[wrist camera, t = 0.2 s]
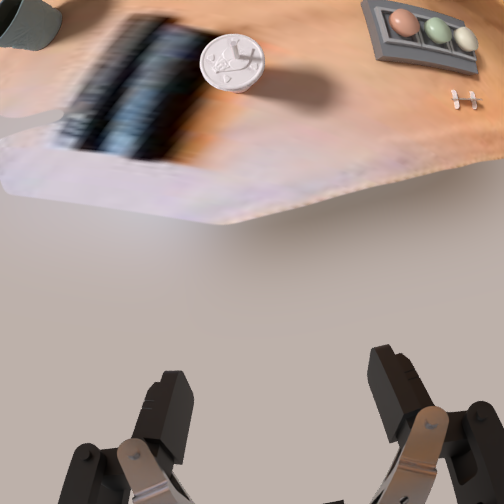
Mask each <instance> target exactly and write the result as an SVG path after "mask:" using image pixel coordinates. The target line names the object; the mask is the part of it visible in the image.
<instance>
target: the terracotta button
mask: <svg viewBox="0 0 504 504" xmlns="http://www.w3.org/2000/svg"><path fill="white" fill-rule="evenodd" d="M388 20H389V24H390V26H391V28H392V29H393V30H394V31H395V32H396V33H397V34H399V35H401V36H403V37H410V36H412V35H414V34H416V33H417V32H419V30H420V24H419V21H418V20H417V18H416V17H415V16H414V15H413V14H412V13H411V12H409V11H408V10H405V9H397V10H396V11H394V12H393V13H392V14H391V15H390V16H389V19H388Z"/></svg>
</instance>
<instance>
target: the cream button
mask: <svg viewBox="0 0 504 504" xmlns="http://www.w3.org/2000/svg"><path fill="white" fill-rule="evenodd" d="M453 34H454V39H455V41H456V43H457V44H458V46H459V47H460V48H461V49H462V50H464V51H466V52H470V51H474V50H477V49H478V41H477V38H476V36H475V35H474V33H473V32H472V31H471V30H470V29H469V28H467V27H461V28H458V29H456V30H454V33H453Z"/></svg>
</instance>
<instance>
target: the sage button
mask: <svg viewBox="0 0 504 504" xmlns="http://www.w3.org/2000/svg"><path fill="white" fill-rule="evenodd" d="M424 30H425V32H426V34H427V36H428V37H429V38H430V39H431V40H432V41H433V42H435V43H437V44H443V43H445V42H448V41H450V40H451V39H452V33H451V30H450V28H449V26H448V25H447V24H446V23H445V22H444V21H443V20H442V19H440V18H437V17H433V18H431V19H429V20H427V21H426V22H425V23H424Z"/></svg>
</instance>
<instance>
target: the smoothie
mask: <svg viewBox="0 0 504 504" xmlns="http://www.w3.org/2000/svg"><path fill="white" fill-rule="evenodd" d="M200 68H201V71H202V74H203V76H204V78H205V79H206V80H207V82H208V83H209V84H210V85H212V86H214V87H215V88H217V89H220V90H224V91H231V92H234V93H242V92H245V91H246V90H248V89H249V88H250V86H251V85H253V84H254V83H255V82H257V80H258V79H259V78H260V77H261V75H262V73H263V71H264V68H265V57H264V53H263V50H262V48H261V47H260V45H259V44H258V43H257V42H256V41H254V40H253V39H251V38H250V37H247V36H244V35H240V34H227V35H223V36H220V37H218V38H216V39H214V40H213V41H211V42H210V43H209V44H208V45H207V46H206V47H205V49H204V50H203V52H202V55H201V58H200Z"/></svg>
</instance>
